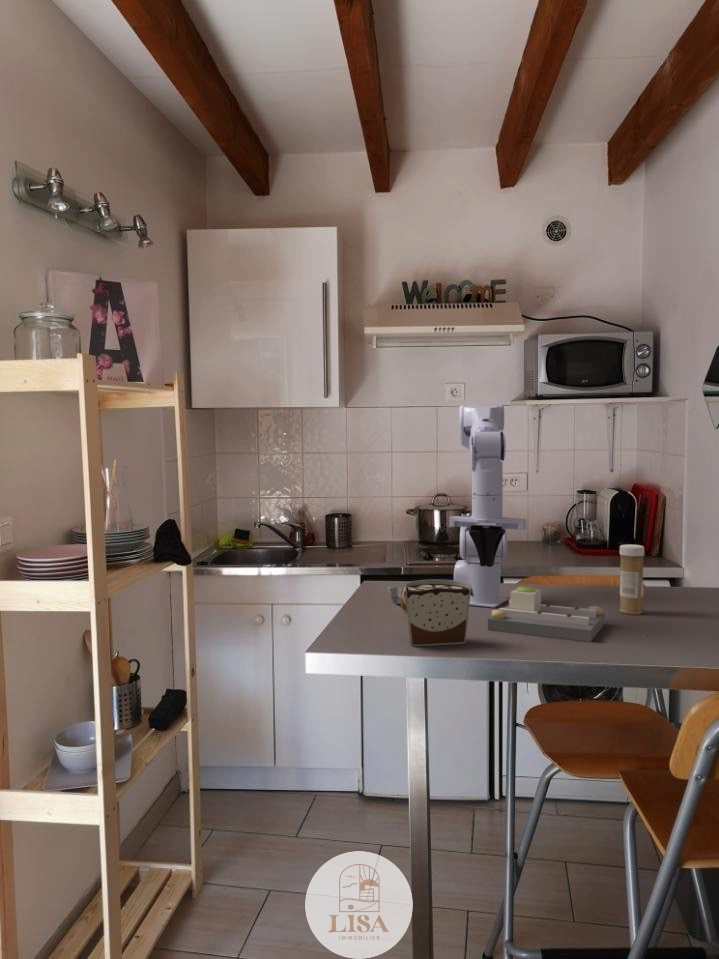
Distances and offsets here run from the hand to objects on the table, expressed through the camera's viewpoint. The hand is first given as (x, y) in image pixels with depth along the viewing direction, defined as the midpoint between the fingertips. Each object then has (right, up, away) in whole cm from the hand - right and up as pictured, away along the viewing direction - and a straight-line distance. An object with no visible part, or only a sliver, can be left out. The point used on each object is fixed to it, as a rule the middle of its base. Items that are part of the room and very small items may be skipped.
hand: (487, 566), depth 136 cm
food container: (-12, -11, -13) cm, 21 cm away
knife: (-16, -10, +10) cm, 21 cm away
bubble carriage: (+7, -8, -3) cm, 11 cm away
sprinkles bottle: (+30, -10, +6) cm, 32 cm away
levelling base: (+10, -11, -5) cm, 15 cm away
